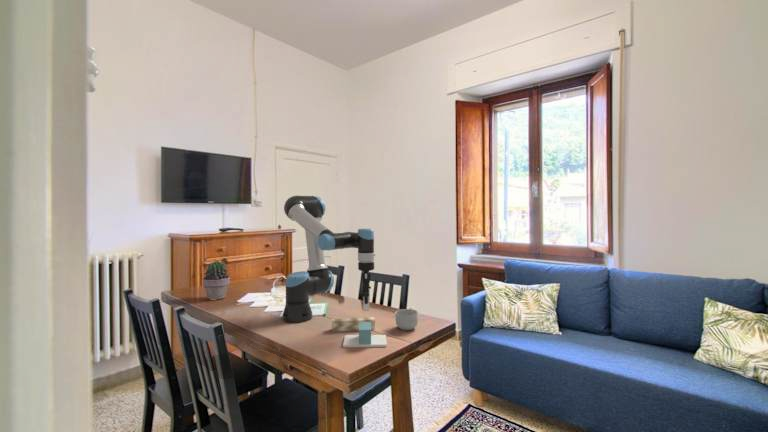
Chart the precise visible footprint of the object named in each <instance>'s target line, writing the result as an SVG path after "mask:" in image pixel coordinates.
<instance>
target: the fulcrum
mask: <svg viewBox="0 0 768 432" xmlns="http://www.w3.org/2000/svg"><path fill="white" fill-rule="evenodd" d="M343 339H344V340H343V343H342V348H388V346H387V345H388V343H387V335H386V334H372V330H371V322H360V325H359V330H358V334H346V335H344V338H343Z"/></svg>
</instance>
